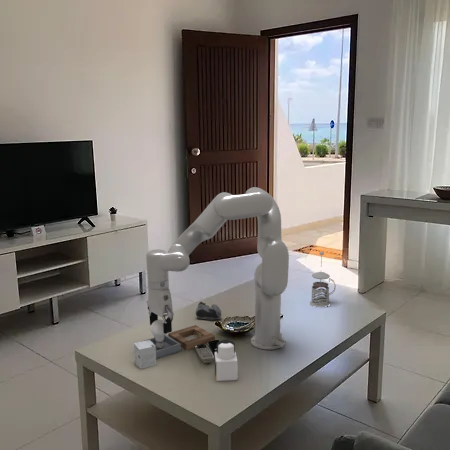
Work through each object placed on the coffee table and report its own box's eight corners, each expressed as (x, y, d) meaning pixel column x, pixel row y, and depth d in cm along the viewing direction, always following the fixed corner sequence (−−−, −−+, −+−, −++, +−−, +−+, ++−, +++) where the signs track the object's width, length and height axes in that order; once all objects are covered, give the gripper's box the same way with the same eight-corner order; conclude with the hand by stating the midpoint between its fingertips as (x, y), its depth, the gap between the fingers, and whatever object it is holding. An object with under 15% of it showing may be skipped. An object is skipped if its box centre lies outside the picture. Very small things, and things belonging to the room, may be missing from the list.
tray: (181, 351, 185) (180, 343, 184) (154, 360, 178) (154, 352, 178) (165, 341, 193) (165, 334, 193) (139, 349, 187) (139, 341, 186)
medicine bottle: (214, 370, 170) (214, 337, 168) (235, 370, 171) (235, 337, 168) (216, 381, 163) (215, 347, 161) (237, 380, 164) (237, 346, 161)
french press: (308, 300, 238) (310, 248, 233) (333, 301, 236) (335, 249, 231) (309, 307, 228) (311, 254, 223) (335, 308, 227) (337, 255, 222)
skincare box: (134, 362, 177) (133, 342, 175) (150, 358, 180) (149, 339, 178) (140, 369, 172) (139, 349, 170) (156, 365, 175) (156, 345, 173)
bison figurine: (220, 322, 212) (225, 312, 222) (220, 307, 210) (224, 298, 220) (193, 321, 215) (199, 311, 224) (192, 305, 213) (198, 296, 222)
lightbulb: (165, 352, 183) (164, 324, 180) (148, 351, 184) (147, 322, 182) (170, 345, 189) (169, 317, 187) (154, 343, 190) (153, 316, 188)
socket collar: (214, 341, 193) (214, 335, 193) (186, 350, 185) (186, 344, 185) (195, 330, 203) (195, 325, 203) (168, 339, 195) (168, 333, 195)
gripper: (180, 287, 176) (182, 333, 180) (155, 276, 190) (157, 318, 193) (161, 292, 172) (164, 338, 175) (137, 280, 185) (140, 324, 189)
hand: (160, 328), depth 184 cm, fingers open, 9 cm apart
